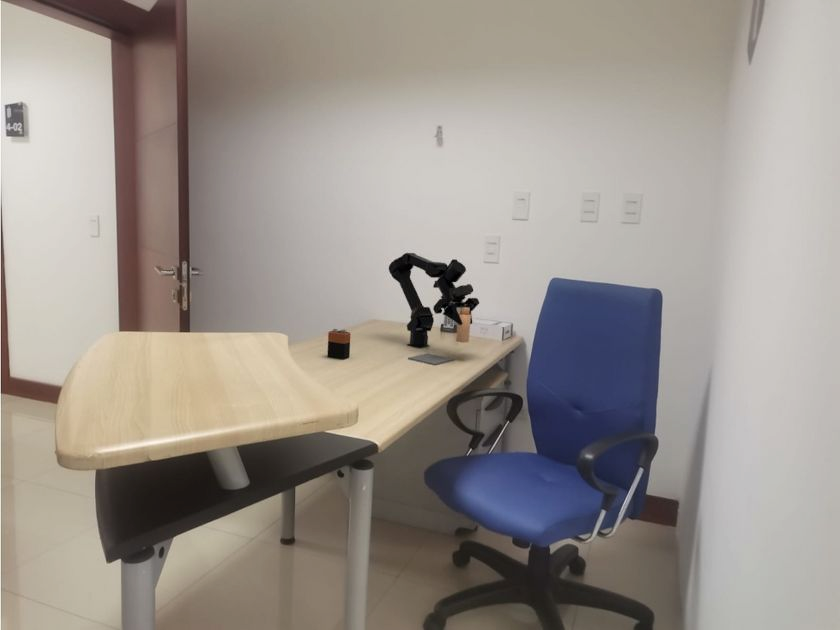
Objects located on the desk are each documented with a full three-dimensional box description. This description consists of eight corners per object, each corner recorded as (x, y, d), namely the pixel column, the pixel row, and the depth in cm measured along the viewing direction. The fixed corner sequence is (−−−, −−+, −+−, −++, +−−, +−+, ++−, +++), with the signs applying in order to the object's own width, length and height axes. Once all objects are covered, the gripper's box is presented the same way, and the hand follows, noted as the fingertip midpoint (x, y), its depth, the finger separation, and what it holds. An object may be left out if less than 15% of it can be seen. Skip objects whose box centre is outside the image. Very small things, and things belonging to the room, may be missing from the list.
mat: (407, 358, 206) (407, 357, 206) (427, 354, 215) (427, 353, 215) (434, 365, 199) (435, 363, 199) (453, 360, 208) (454, 359, 208)
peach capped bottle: (453, 340, 209) (456, 307, 208) (460, 339, 213) (463, 306, 211) (464, 342, 207) (466, 308, 205) (471, 341, 210) (473, 307, 208)
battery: (343, 359, 198) (345, 331, 197) (326, 357, 201) (327, 329, 199) (349, 357, 202) (351, 329, 201) (333, 354, 205) (334, 327, 203)
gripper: (440, 276, 203) (459, 311, 197) (478, 276, 215) (496, 309, 208) (425, 295, 211) (442, 330, 204) (462, 294, 222) (479, 327, 216)
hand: (466, 324), depth 208 cm, fingers closed on peach capped bottle, 5 cm apart
